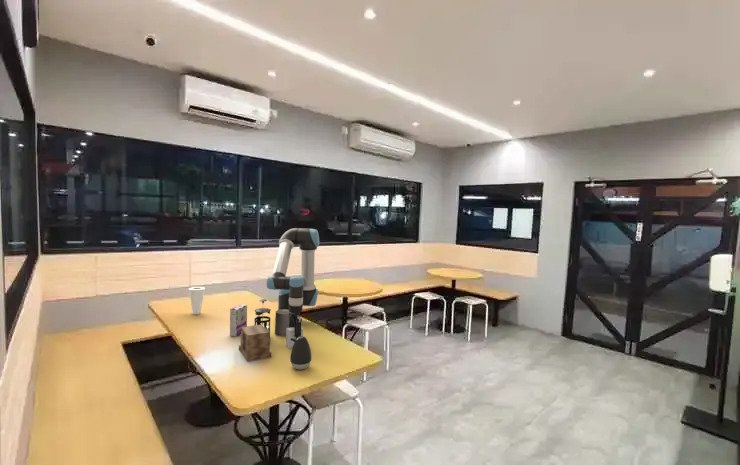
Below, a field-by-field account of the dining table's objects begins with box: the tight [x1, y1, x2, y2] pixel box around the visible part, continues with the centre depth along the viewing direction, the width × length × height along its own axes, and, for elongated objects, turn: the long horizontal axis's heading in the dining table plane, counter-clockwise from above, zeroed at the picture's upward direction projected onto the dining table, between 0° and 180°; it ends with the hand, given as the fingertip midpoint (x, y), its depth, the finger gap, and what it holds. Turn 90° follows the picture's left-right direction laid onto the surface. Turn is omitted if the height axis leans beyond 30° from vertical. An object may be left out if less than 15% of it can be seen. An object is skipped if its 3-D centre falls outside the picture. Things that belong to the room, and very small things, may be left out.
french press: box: [253, 298, 272, 333], centre depth 207 cm, size 12×9×23 cm
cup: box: [188, 286, 206, 315], centre depth 249 cm, size 11×11×18 cm
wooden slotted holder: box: [238, 324, 272, 362], centre depth 185 cm, size 13×18×12 cm
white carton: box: [285, 326, 304, 350], centre depth 197 cm, size 8×5×10 cm, turn 123°
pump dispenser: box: [289, 335, 312, 371], centre depth 170 cm, size 10×10×15 cm
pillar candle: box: [274, 309, 291, 337], centre depth 217 cm, size 10×10×15 cm
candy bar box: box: [229, 304, 248, 337], centre depth 213 cm, size 11×5×16 cm, turn 168°
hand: (294, 345), depth 197 cm, fingers closed on white carton, 5 cm apart
